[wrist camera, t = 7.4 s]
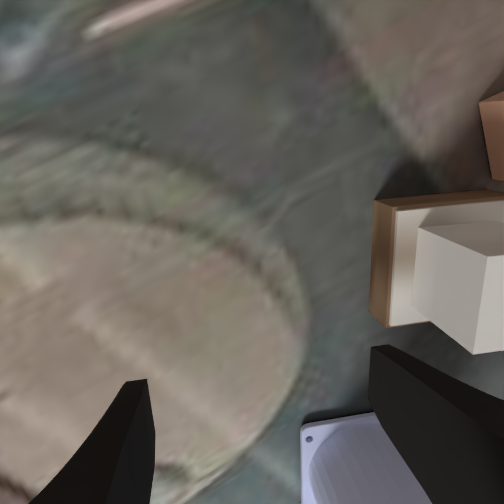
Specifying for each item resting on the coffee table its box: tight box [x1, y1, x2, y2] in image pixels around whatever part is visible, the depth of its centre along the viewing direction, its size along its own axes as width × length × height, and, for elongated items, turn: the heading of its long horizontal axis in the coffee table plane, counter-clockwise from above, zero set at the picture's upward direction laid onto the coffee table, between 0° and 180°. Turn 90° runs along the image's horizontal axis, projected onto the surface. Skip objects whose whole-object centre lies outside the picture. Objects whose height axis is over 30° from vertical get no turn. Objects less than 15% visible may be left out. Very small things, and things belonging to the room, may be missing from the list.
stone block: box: [411, 221, 504, 354], centre depth 19 cm, size 4×4×5 cm
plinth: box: [369, 189, 504, 328], centre depth 23 cm, size 7×7×2 cm
